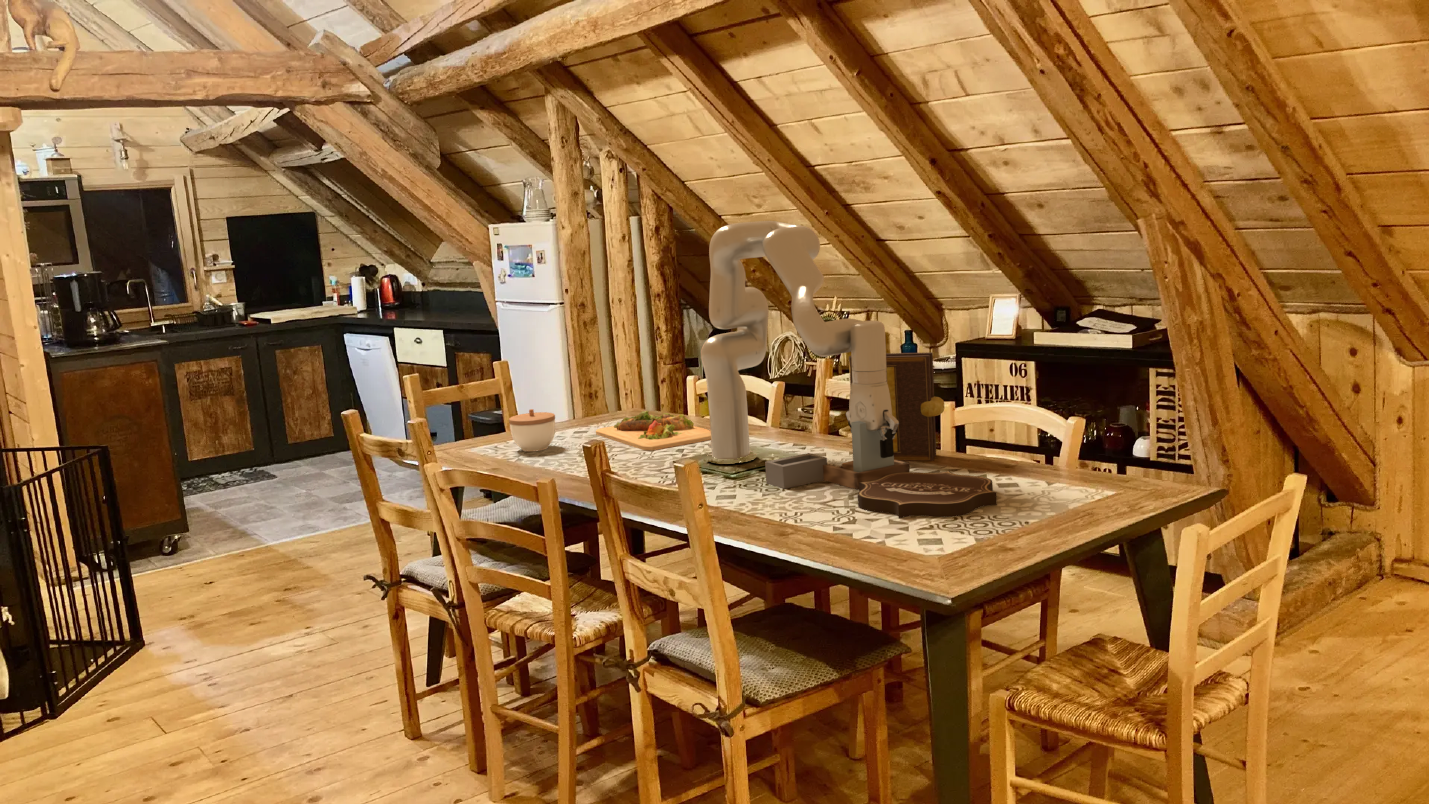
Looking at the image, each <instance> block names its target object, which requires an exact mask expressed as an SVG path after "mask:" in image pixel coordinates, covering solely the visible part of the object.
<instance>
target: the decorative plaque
mask: <svg viewBox="0 0 1429 804" xmlns="http://www.w3.org/2000/svg"><path fill="white" fill-rule="evenodd" d="M997 500H998V499H997V491H993V480H992V479H991V478H988V477H985V476H979V475H968V474H959V473H958V474H957V473H953V472H951V470H948V471H942V472H917V471H916V472H915V471H914V472H913V471H910V472H901V473H893V474H889V475H886V476H884V477H882V478H880V479H877V480H874V481H869V482H859V490H858V492H857V506H858V508H859V509H861V510H863V511H866V510H867V512H872V513H873V512H874V513H880V514H881V513H882V514H883V513H884V514H890V515H893V516H894V515H895V516H897V517H898V519H901V518H907V517H908V518H909V517H931V518H932V517H933V518H953V517H961V516H965V515H969V514H970V513H972V512H973V511H975V510H977V509H979V508H982V507H987V506H997V505H998V503H997Z"/></svg>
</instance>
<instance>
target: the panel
mask: <svg viewBox="0 0 1429 804" xmlns="http://www.w3.org/2000/svg"><path fill="white" fill-rule="evenodd" d="M851 428H852V433H851V445H852V448H851V449H852V461H853V469H854V472H858V473H859V472H864V471H868V470H873V469H878V468H882V467H887V466H891V465H894V455H893V456H892V457H887V458H881V456H880V440H882V438H881V436H880V434H879V433H878V431H877V430H876V431H869V430H867V429H866V423H864V422H859V421H855V422H851ZM851 428H850V429H851ZM883 431H884V432H885V433H886V432H887V431H886V430H883Z"/></svg>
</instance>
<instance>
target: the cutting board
mask: <svg viewBox="0 0 1429 804" xmlns="http://www.w3.org/2000/svg"><path fill="white" fill-rule="evenodd" d="M595 435H596V436H599V437H602V438H605V439H608V440H611V441H615V442H617V443H621V444H624V445H627V446H630V447H634V448H636V449H639V450H643V451H656V450H657V451H658V450H661V449H662V450H663V449H667V448H672V447H679V446H683V445H689V444H696V443H700V442H701V443H702V442H705V441H707V442H708V441H711V431H710V429H706V428H703V427H699V426H695V423H694V421H692V420H691V419H688V418H687V417H686V415H684V413H683V414H681V413H680V414H678V415H674V414H671V413H668V412H664V413H662V414H661V415H660V416H656V415H652V414H649V410H645V411H641V412H639V414H638V415H635V416H631V417H624V418H623V419H621V420H620V422H619V421H617V423H615V424H614V425H612V426H611V425H610V426H604V427H601V428H597V429H596V430H595Z"/></svg>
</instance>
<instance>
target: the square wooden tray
mask: <svg viewBox="0 0 1429 804" xmlns="http://www.w3.org/2000/svg"><path fill="white" fill-rule="evenodd" d="M901 472H911V470H910V463H909V462H906V461H898V460H894V465H891V466H887V467H882V468H878V469H873V470H868V471H864V472H859V473H858V472H854V471H851V470H847V469H843V467H842V465H838V466H836V465H831V464H828V463H827V464H826V465H823V476H824V480H823V481H825V482H829V483H832V484H835V485H838V486H843V487H846V488H849V489H853V490H855V491H856V490H857V491H859V482H869V481H874V480H877V479H880V478H882V477H884V476H886V475H889V474H893V473H901Z"/></svg>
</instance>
